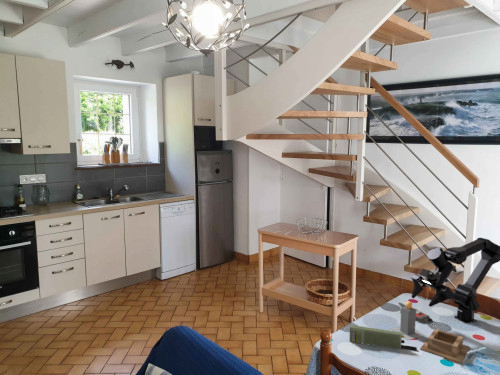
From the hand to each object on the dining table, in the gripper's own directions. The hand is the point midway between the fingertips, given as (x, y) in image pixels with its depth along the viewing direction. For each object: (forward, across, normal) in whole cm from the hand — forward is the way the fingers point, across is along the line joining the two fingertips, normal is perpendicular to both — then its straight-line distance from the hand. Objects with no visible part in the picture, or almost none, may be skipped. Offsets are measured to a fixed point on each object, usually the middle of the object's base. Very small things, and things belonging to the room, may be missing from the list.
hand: (420, 301), depth 161 cm
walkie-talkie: (+3, -14, +16) cm, 21 cm away
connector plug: (+13, 0, +4) cm, 14 cm away
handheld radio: (+26, +4, -7) cm, 27 cm away
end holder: (+11, +15, +7) cm, 20 cm away
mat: (+14, 0, +4) cm, 14 cm away
